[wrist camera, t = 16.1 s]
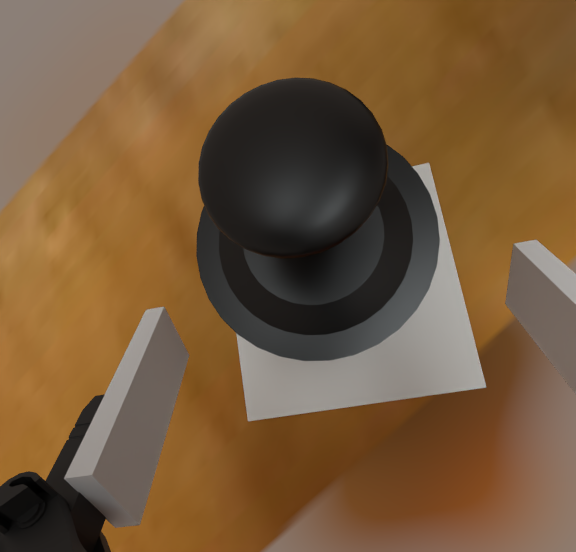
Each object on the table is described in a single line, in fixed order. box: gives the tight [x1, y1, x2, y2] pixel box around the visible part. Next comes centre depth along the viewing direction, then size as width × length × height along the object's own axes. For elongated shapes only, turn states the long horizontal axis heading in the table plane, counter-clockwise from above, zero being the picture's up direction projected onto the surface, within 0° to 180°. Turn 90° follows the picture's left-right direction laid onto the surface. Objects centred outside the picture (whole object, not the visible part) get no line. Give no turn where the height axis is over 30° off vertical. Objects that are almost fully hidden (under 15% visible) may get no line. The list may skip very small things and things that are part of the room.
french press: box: [197, 78, 440, 361], centre depth 19 cm, size 12×9×23 cm
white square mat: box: [236, 163, 486, 421], centre depth 31 cm, size 18×18×1 cm
